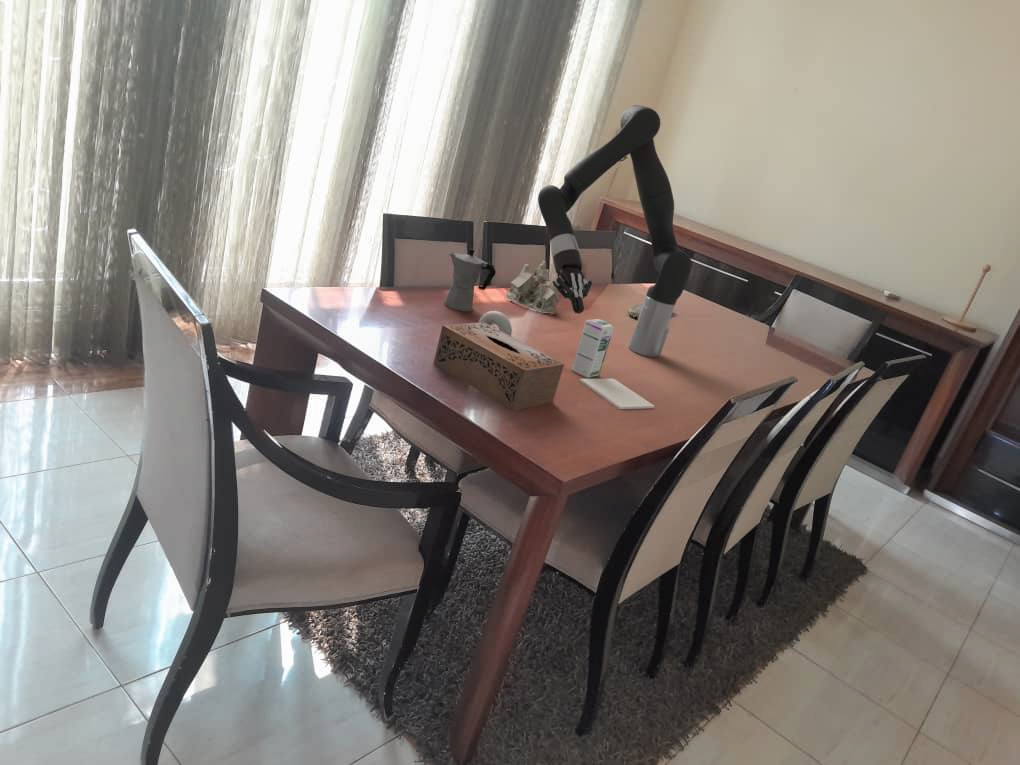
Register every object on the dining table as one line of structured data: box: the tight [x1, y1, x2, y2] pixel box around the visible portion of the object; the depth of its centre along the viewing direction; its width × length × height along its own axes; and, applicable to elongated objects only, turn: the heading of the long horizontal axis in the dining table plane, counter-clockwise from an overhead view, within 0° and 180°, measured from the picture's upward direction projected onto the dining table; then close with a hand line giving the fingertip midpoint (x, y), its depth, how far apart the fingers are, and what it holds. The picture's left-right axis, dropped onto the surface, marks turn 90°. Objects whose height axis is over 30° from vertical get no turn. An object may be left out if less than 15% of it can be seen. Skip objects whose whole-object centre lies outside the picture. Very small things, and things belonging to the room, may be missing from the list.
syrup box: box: [571, 318, 615, 379], centre depth 196 cm, size 6×6×14 cm
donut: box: [478, 310, 513, 337], centre depth 195 cm, size 10×4×10 cm, turn 60°
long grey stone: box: [627, 303, 643, 319], centre depth 283 cm, size 35×5×10 cm
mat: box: [579, 378, 655, 410], centre depth 189 cm, size 16×12×1 cm
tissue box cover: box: [433, 321, 565, 412], centre depth 172 cm, size 26×14×10 cm, turn 50°
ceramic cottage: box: [505, 260, 560, 314], centre depth 247 cm, size 16×16×15 cm
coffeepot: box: [443, 248, 497, 312], centre depth 222 cm, size 15×9×18 cm, turn 70°
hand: (579, 312), depth 199 cm, fingers closed
